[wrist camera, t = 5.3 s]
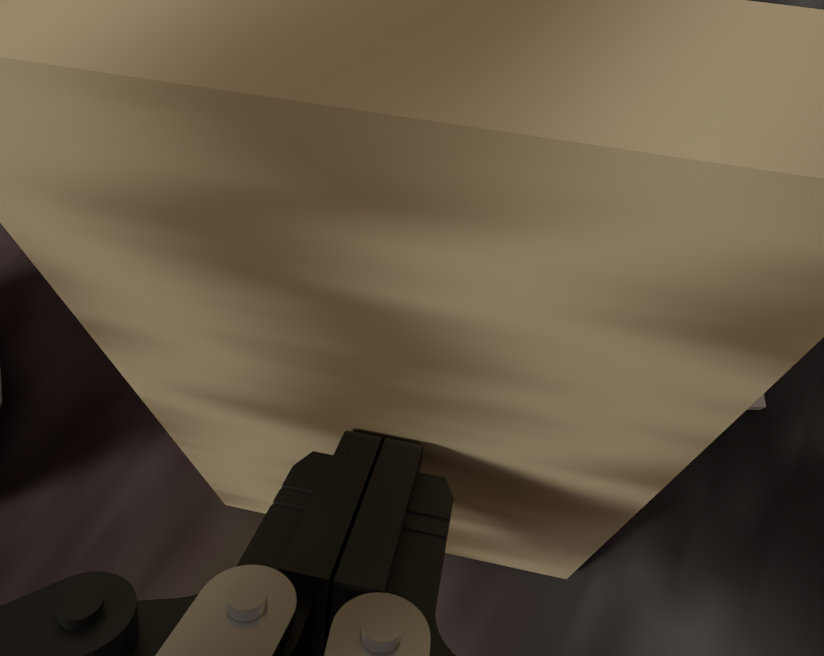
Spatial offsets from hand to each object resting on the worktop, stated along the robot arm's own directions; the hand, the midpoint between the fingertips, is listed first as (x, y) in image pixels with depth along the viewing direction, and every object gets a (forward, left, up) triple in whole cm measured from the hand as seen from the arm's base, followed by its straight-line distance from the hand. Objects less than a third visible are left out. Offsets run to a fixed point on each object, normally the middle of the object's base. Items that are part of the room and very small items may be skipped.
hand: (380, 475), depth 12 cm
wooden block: (0, 0, -7) cm, 7 cm away
